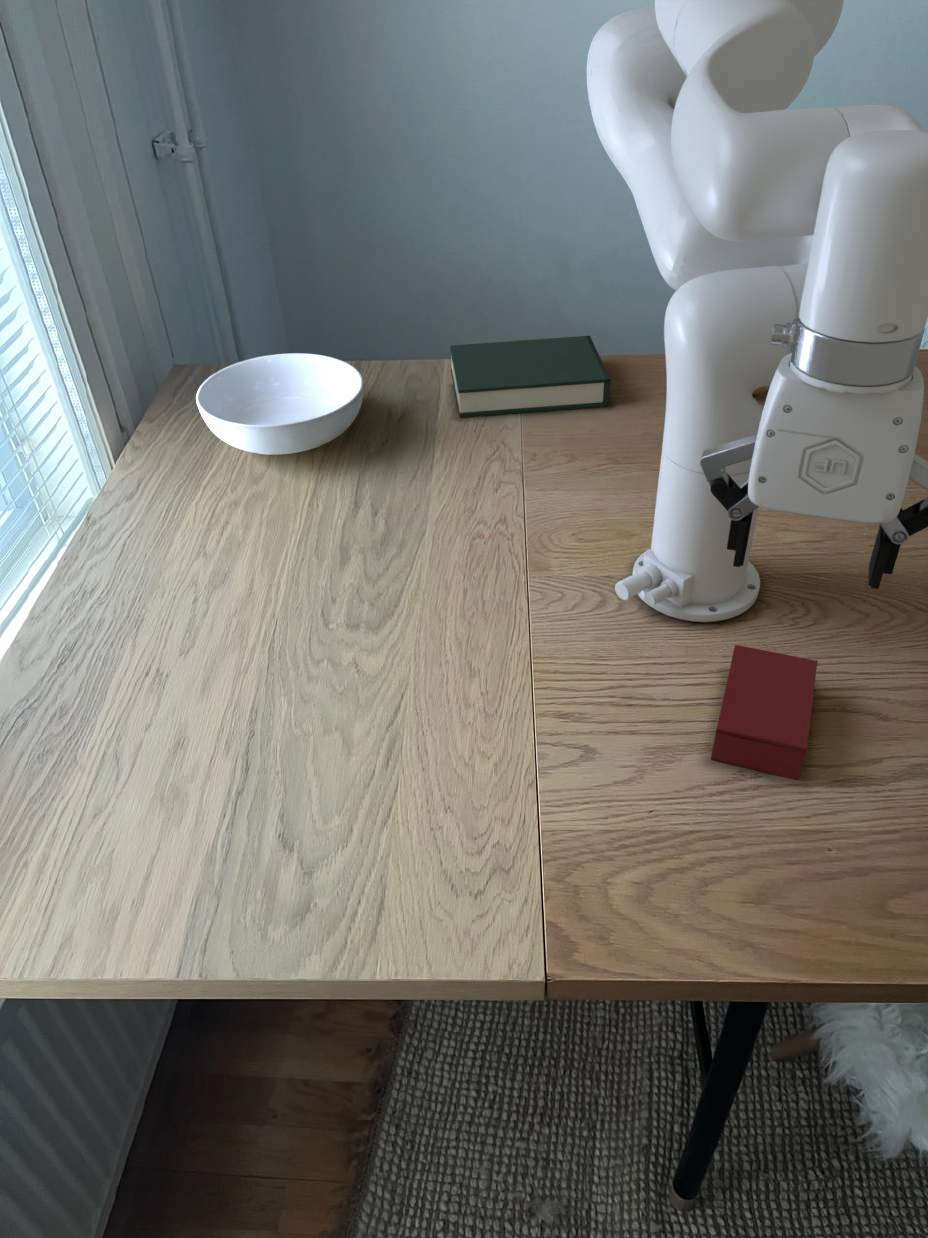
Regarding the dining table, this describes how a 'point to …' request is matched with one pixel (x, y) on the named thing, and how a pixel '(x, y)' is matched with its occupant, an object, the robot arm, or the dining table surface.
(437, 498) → the dining table surface
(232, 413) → the serving bowl
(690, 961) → the dining table surface
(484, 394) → the hardcover
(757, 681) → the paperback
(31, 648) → the dining table surface
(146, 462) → the dining table surface
